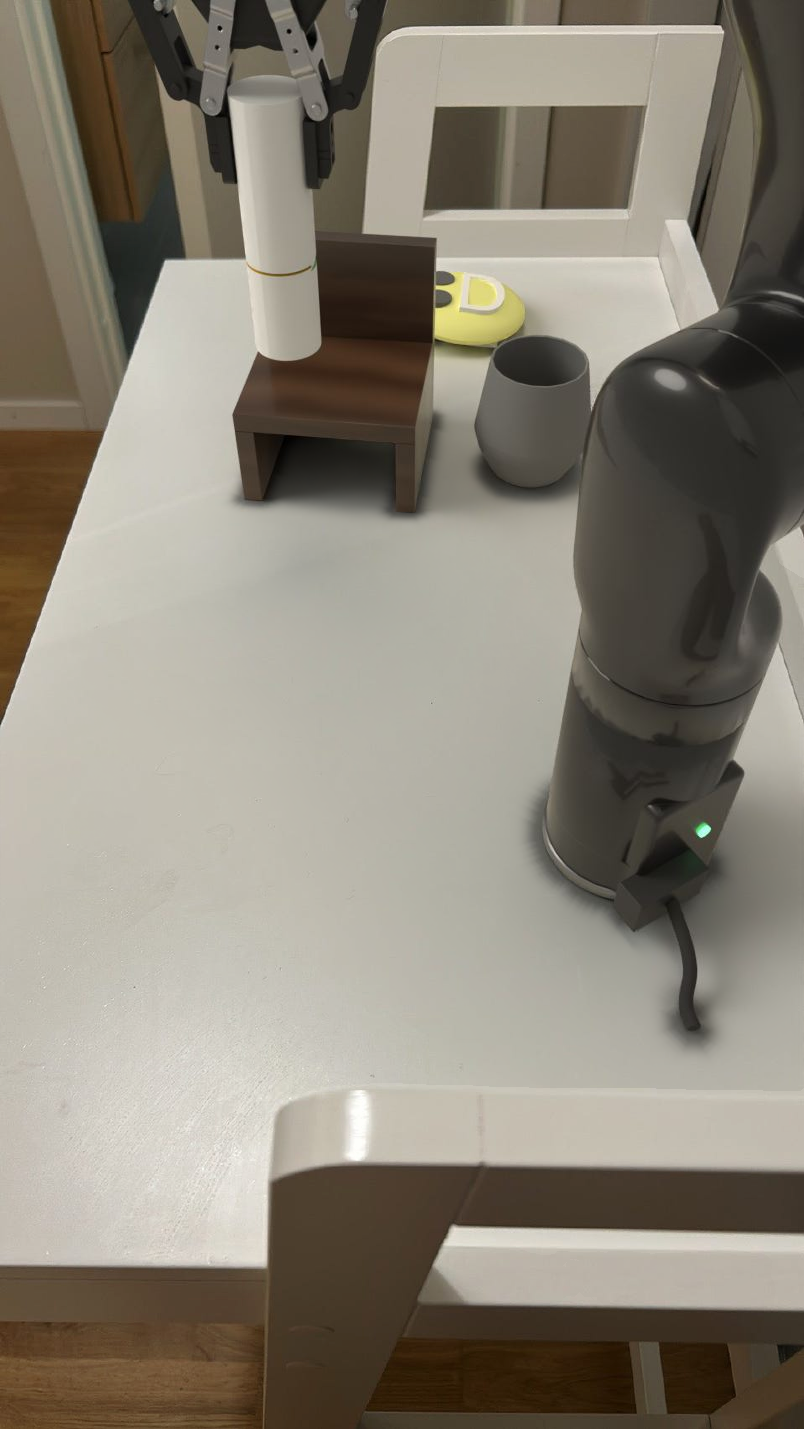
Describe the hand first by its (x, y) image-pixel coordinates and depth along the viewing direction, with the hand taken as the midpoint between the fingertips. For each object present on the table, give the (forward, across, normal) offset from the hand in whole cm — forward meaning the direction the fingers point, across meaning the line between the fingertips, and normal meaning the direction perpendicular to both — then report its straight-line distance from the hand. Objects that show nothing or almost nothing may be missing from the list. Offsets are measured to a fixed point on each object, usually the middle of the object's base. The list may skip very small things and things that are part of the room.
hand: (275, 179), depth 60 cm
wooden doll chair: (+28, +1, +11) cm, 30 cm away
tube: (+10, 0, 0) cm, 10 cm away
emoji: (+28, +10, +34) cm, 45 cm away
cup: (+28, +17, +12) cm, 35 cm away
